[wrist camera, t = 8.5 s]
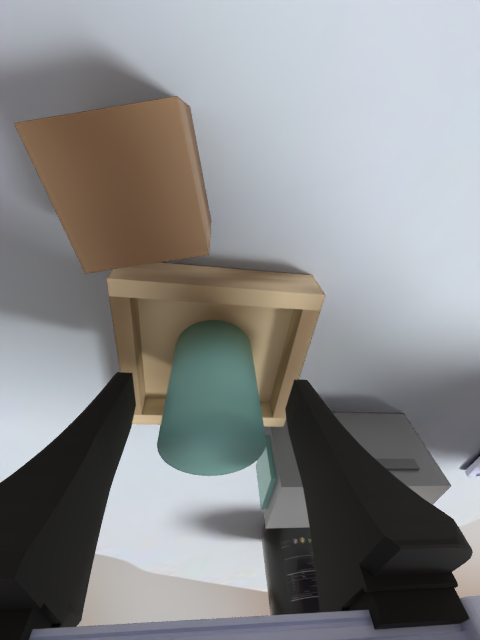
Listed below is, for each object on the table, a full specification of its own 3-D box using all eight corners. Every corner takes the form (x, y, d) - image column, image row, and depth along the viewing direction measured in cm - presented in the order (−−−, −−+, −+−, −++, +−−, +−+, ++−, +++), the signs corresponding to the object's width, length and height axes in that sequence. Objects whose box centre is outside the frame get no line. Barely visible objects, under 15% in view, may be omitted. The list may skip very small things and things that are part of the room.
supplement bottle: (320, 538, 32) (366, 722, 22) (260, 544, 32) (279, 732, 22) (330, 510, 28) (392, 715, 19) (262, 515, 28) (287, 727, 18)
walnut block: (190, 106, 10) (177, 96, 7) (211, 220, 12) (209, 254, 9) (79, 124, 10) (14, 123, 7) (120, 235, 13) (85, 273, 9)
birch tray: (312, 275, 14) (325, 295, 12) (277, 400, 19) (283, 426, 17) (120, 259, 13) (106, 278, 11) (136, 396, 18) (127, 424, 16)
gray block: (405, 412, 21) (453, 483, 16) (377, 454, 23) (412, 524, 19) (263, 408, 19) (276, 485, 15) (252, 453, 22) (260, 528, 18)
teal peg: (256, 322, 14) (275, 412, 10) (246, 379, 17) (257, 475, 12) (175, 317, 14) (155, 409, 9) (175, 377, 16) (158, 476, 12)
